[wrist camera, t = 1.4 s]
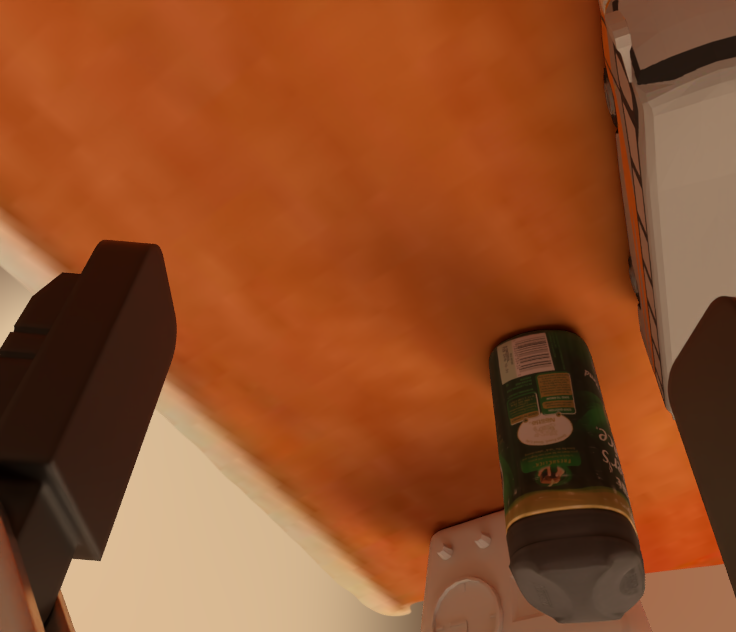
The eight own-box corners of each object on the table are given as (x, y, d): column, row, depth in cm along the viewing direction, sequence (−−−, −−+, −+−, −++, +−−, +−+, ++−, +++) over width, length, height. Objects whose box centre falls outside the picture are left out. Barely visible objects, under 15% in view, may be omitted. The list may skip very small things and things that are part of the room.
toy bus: (730, -95, 29) (831, -18, 22) (728, 300, 45) (786, 417, 38) (574, -38, 31) (621, 50, 24) (627, 321, 47) (664, 436, 40)
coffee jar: (601, 393, 53) (659, 630, 40) (504, 409, 55) (530, 638, 42) (585, 313, 47) (649, 564, 34) (478, 335, 49) (498, 577, 36)
